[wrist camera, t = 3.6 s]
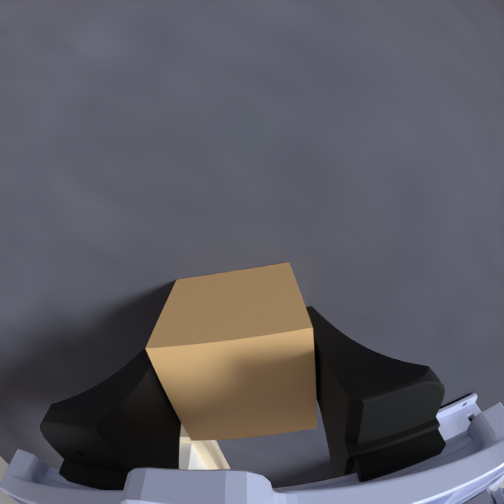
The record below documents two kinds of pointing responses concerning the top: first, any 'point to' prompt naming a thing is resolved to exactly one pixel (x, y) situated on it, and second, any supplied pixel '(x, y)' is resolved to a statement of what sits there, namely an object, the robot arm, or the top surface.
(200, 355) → the tan cube
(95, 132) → the top surface
